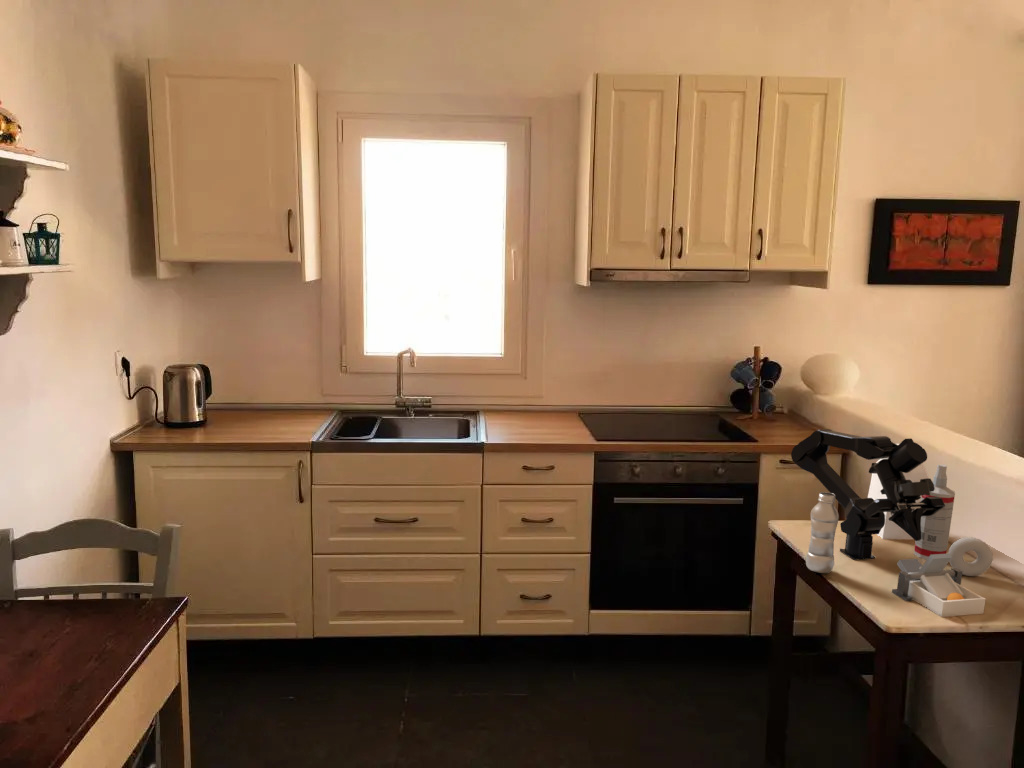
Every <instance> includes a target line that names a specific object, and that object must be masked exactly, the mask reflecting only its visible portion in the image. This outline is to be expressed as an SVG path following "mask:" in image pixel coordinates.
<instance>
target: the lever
mask: <svg viewBox="0 0 1024 768" xmlns="http://www.w3.org/2000/svg"><path fill="white" fill-rule="evenodd" d="M951 558H952V557H951V556H950V554H948V553H947V554H933V555H930V556H929V558H928V559H927V560H926V559H925V562H923V564H922V562H920V561H919V559H918V558H905V559H899V560H898V561H897V563H896V565H897V566H898V568H899V569H900V572H904V571H905V572H906V573H908V574H910V581H917V580H921V581H922V583H923V584H924V585H925V587H926V588H927V590H928V591H929V592H930V593H931V594H933V595H935V596H936V597H938V598H940V599H947V597H948V595H949V594H951V593H959V594H961V595H962V596H963V595H964V594H963V593H962V591H961V590H960V589H959V587H958V586H957V585H956V583H955V582H954V581H953V579H952V578H951V577H954V576H955V571H954V570H951V569H945V567H947V565H948V564H949V563H950V562H949V561H950V560H951ZM944 569H945V570H944Z"/></svg>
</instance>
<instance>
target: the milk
mask: <svg viewBox="0 0 1024 768" xmlns="http://www.w3.org/2000/svg"><path fill="white" fill-rule="evenodd" d="M896 444H897V445H899V444H900V443H896ZM885 459H888V458H885ZM880 460H882V459H877V461H876V462H875V463H878V462H879V461H880ZM903 474H904V476H905V478H906V480H910V481H912V482H920V480H921V479H929V474H928V470H927V469H926V466H925V465H924V462H923V463H922V464H921V465H919V466H918V467H916V468H915V469H913V470H912V471H910V472H908V473H904V472H903ZM868 488H869V489H868V492H867V493H868V494H867V498H872V499H873V500H876V499H887V496H886V494H881V490H882V489H883V487H882V485H881V482H880V480H879V477H878V475H877V474H875V473H871V478H870V483H869V487H868ZM921 496H922V495H921ZM921 496H920V497H921ZM915 502H916V503H919V502H921V498H920V499H919V500H916V501H915ZM884 514H885V524H884V527H883V528H882V529H881V530H880V532H879V534H877V535H876V536H878V537H879V536H880V537H881V538H880V537H879V538H880V539H882V540H914V539H913V538H912V537H911V536H910V535H909V534H908V533H906V532H905V531H904V530H903V529H902V528H901V527H899V526H898V525H897V524H895V523H894V522H893V521H889V518H890V517H891V513H890V512H884Z"/></svg>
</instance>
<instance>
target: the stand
mask: <svg viewBox="0 0 1024 768" xmlns="http://www.w3.org/2000/svg"><path fill="white" fill-rule="evenodd" d="M950 570H954V571H955V576H954V577H951V578H952V579H953V581H954V582H956V583H958V584H959V585H961V586H962V578H963V575H962V572H963V571H961V570H959V569H957V568H953V567H951V568H950ZM909 582H910V574H908V573H906V572H905V571H904V572H902V571H899V572H898V578H897V586H896V588H892V590H891V593H892V594H893V595H896V596H897V597H899V598H900V599H902V600H904V601H905V602H906V601H909V602H913V599H912V597H910V596H908V590H909Z"/></svg>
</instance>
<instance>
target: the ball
mask: <svg viewBox="0 0 1024 768" xmlns="http://www.w3.org/2000/svg"><path fill="white" fill-rule="evenodd" d="M960 599H964V598H963V596H962V595H961V594H959V593H951V594H949V595H948V597H947V600H960Z"/></svg>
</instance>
